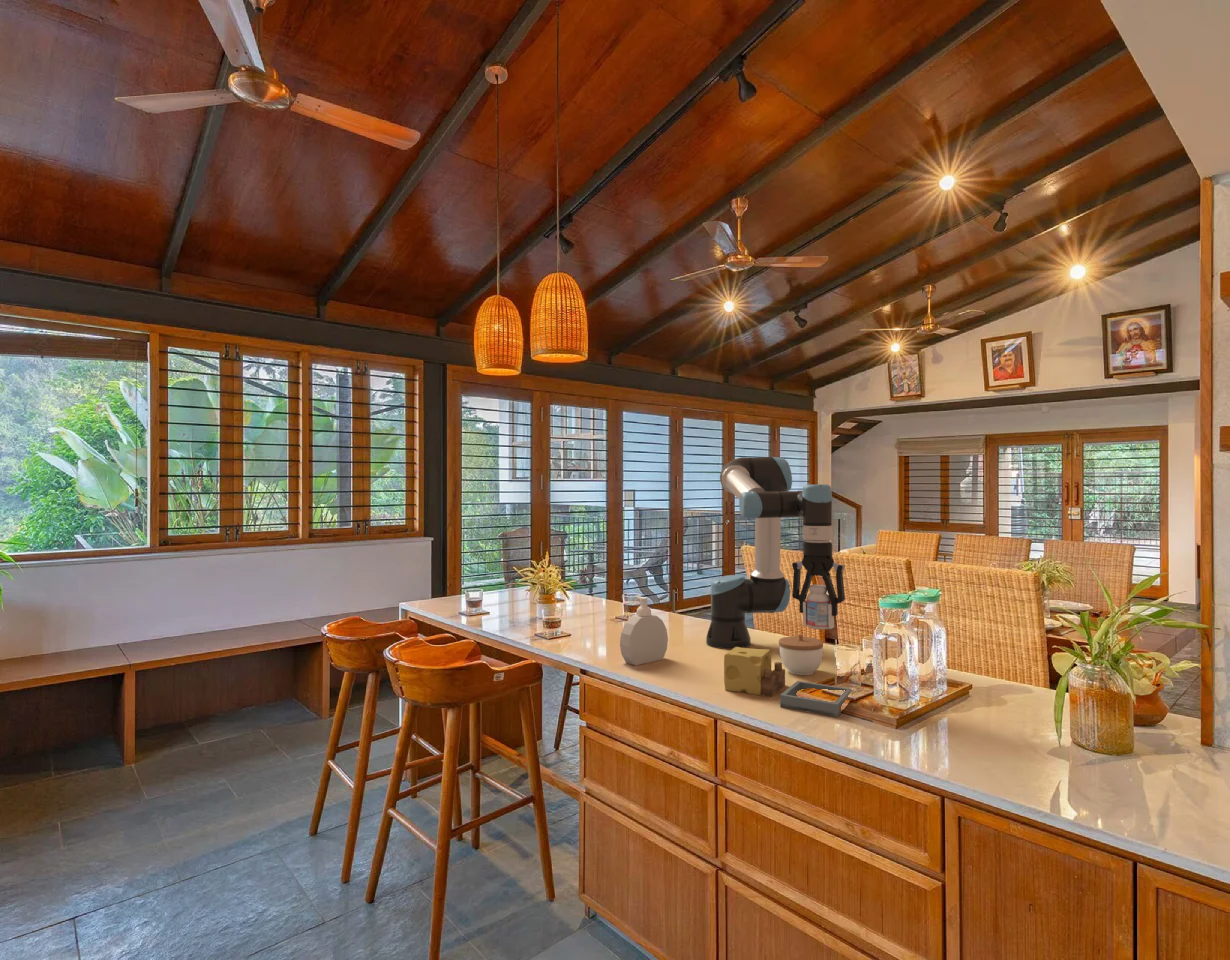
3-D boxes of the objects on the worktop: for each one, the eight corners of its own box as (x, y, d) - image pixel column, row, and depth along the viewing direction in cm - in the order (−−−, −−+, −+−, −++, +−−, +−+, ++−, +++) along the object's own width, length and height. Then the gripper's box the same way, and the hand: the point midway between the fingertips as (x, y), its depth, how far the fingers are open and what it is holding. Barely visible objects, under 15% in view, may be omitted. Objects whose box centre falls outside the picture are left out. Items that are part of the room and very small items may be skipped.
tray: (797, 691, 178) (797, 680, 178) (851, 700, 171) (851, 688, 171) (780, 706, 167) (780, 694, 167) (837, 717, 159) (837, 704, 159)
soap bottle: (657, 655, 218) (657, 593, 218) (668, 658, 214) (668, 596, 214) (618, 663, 208) (618, 599, 208) (629, 667, 204) (628, 601, 204)
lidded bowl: (785, 664, 206) (785, 628, 206) (827, 669, 199) (827, 632, 200) (773, 674, 195) (773, 636, 195) (817, 680, 189) (817, 641, 189)
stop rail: (776, 683, 186) (776, 660, 186) (785, 685, 184) (784, 661, 184) (761, 695, 176) (760, 671, 176) (770, 697, 174) (769, 672, 174)
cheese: (761, 696, 175) (760, 658, 175) (722, 690, 181) (721, 653, 181) (772, 685, 185) (771, 649, 185) (734, 680, 190) (734, 645, 190)
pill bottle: (803, 625, 184) (803, 584, 184) (825, 624, 184) (824, 583, 184) (812, 630, 178) (811, 588, 178) (834, 629, 178) (833, 587, 178)
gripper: (778, 540, 183) (779, 625, 183) (850, 543, 173) (851, 633, 173) (787, 538, 189) (788, 620, 189) (857, 541, 179) (858, 627, 179)
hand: (818, 626), depth 181 cm, fingers closed on pill bottle, 6 cm apart
